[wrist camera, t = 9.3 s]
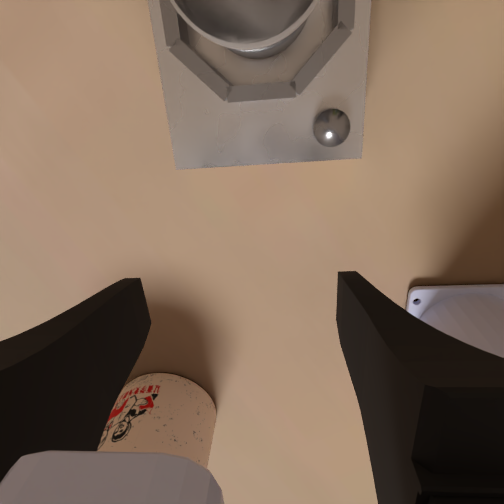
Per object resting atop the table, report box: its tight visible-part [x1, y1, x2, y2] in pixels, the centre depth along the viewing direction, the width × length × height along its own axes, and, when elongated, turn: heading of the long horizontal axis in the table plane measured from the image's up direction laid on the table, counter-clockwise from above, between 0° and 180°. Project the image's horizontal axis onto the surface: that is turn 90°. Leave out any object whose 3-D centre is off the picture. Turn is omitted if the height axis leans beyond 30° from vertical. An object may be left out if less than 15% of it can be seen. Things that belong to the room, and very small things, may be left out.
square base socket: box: [148, 0, 371, 170], centre depth 15 cm, size 13×9×6 cm
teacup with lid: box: [97, 373, 216, 468], centre depth 26 cm, size 12×9×12 cm
